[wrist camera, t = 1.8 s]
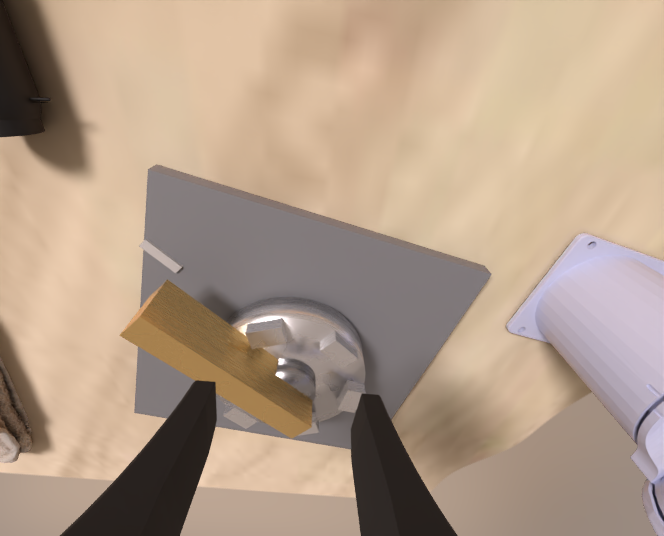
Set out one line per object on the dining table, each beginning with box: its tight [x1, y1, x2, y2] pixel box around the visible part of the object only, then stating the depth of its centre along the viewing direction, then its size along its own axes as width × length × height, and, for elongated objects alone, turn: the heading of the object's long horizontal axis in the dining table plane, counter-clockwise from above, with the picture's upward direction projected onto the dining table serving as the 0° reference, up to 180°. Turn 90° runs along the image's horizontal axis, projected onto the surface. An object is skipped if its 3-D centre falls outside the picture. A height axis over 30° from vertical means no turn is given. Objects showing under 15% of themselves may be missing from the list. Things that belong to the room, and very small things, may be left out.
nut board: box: [134, 165, 491, 449], centre depth 23 cm, size 20×20×1 cm
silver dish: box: [120, 279, 366, 439], centre depth 20 cm, size 14×10×5 cm
